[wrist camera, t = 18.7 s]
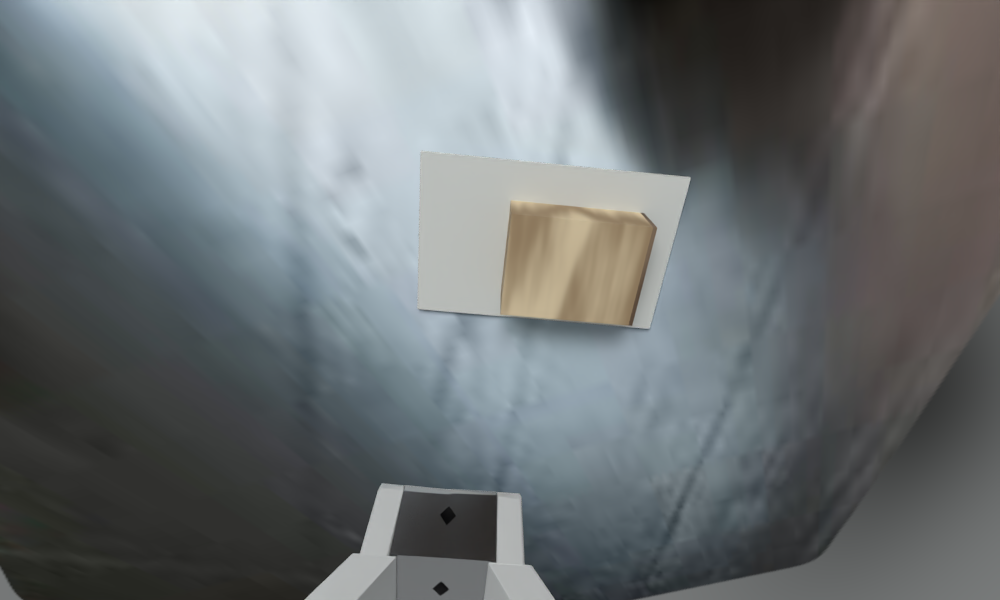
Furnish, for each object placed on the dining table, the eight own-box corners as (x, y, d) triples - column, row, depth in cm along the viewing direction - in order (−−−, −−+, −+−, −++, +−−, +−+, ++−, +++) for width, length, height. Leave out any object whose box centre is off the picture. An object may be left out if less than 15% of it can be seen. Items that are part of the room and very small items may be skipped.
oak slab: (510, 200, 36) (644, 213, 37) (500, 294, 40) (622, 305, 40) (511, 213, 33) (657, 227, 34) (500, 314, 37) (632, 325, 37)
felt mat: (688, 177, 36) (690, 178, 36) (648, 326, 42) (649, 328, 42) (421, 150, 35) (420, 151, 35) (418, 306, 41) (417, 308, 41)
